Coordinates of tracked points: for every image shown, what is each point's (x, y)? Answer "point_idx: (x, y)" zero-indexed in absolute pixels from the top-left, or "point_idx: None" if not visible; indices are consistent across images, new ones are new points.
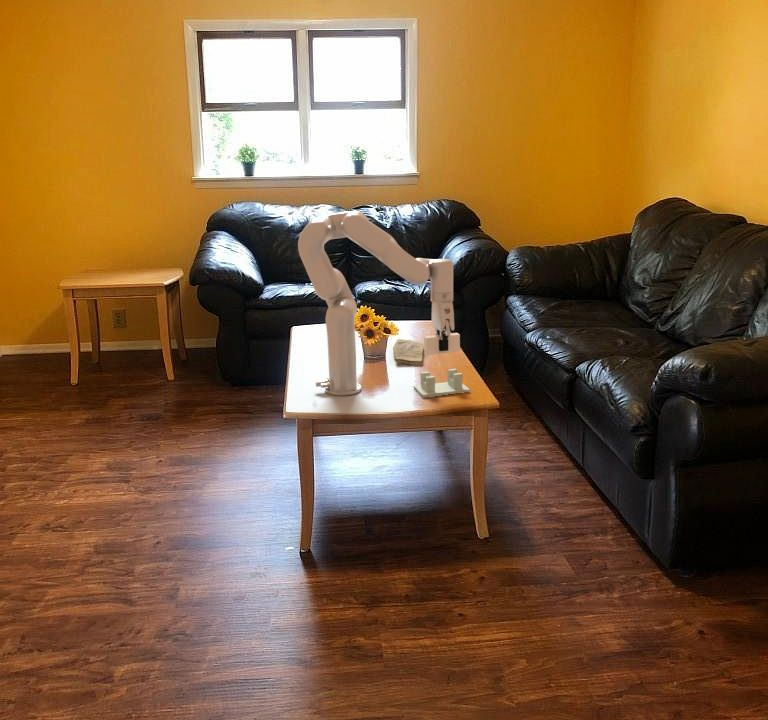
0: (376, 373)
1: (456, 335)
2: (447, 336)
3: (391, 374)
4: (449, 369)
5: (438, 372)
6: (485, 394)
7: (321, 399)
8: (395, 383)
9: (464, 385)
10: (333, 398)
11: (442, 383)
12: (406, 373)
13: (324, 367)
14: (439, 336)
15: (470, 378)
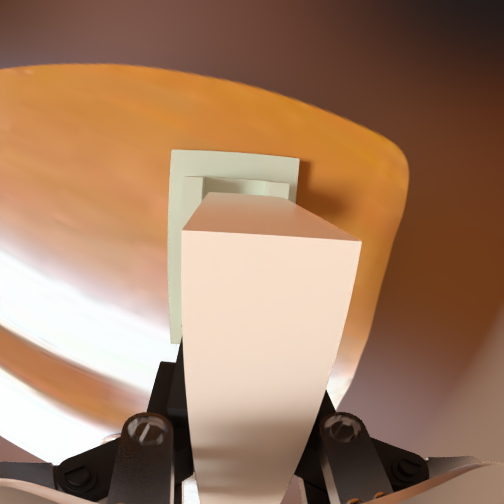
0: (23, 359)
1: (344, 310)
2: (399, 458)
3: (28, 331)
4: (183, 215)
5: (30, 179)
6: (337, 117)
7: (189, 486)
8: (104, 359)
9: (244, 155)
10: (190, 477)
11: (180, 233)
12: (22, 288)
13: (3, 414)
14: (272, 489)
15: (132, 81)
